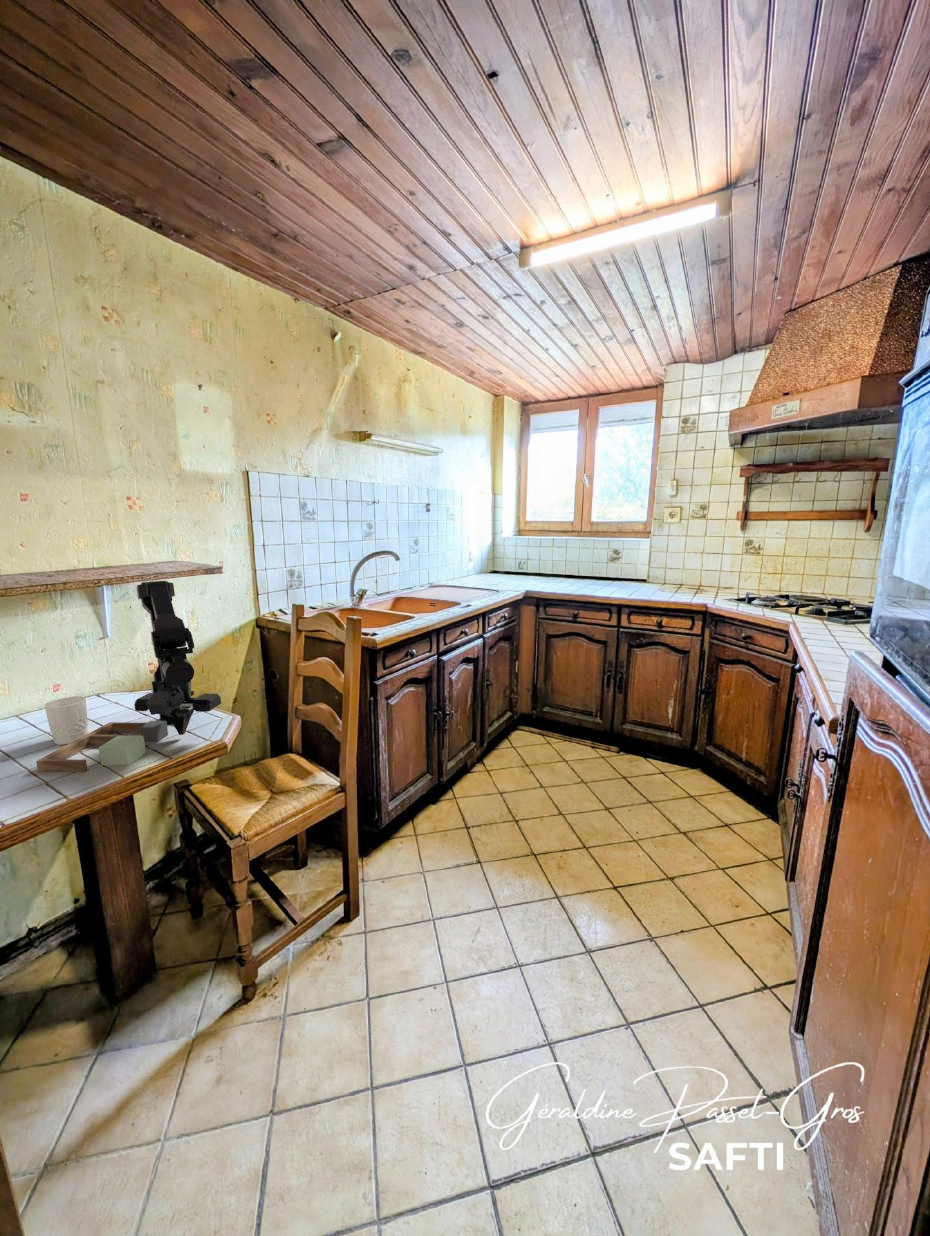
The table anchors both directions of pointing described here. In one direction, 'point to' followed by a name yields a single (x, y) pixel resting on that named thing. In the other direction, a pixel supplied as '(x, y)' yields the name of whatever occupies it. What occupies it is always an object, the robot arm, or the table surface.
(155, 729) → the slate grey cube
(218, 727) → the table surface
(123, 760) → the sage green block
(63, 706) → the white cup
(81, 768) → the walnut slot rack
